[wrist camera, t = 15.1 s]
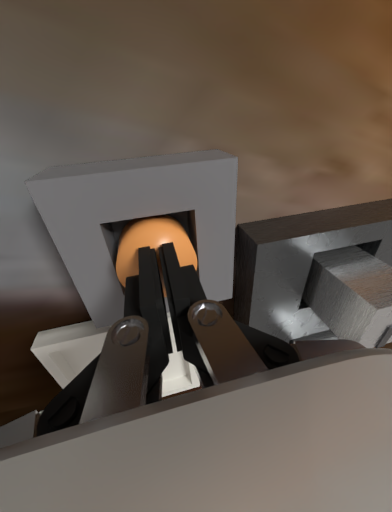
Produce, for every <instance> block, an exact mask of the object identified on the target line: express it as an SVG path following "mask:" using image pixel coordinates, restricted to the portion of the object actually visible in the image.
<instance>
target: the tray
mask: <svg viewBox="0 0 392 512" xmlns="http://www.w3.org/2000/svg"><path fill="white" fill-rule="evenodd" d="M167 317H168V324H169V330H170V336H171V342H172V348H173V353H171V354H168V355H169V362H168V363H169V364H168V365H167V367H166V368H165V369H164V371H163V372H162V377H163V381H162V397H164V396H167V395H171V394H174V393H178V392H181V391H185V390H188V389H192V388H195V387H199V386H200V383H199V379H198V377H197V374H196V372H195V369H194V365H193V364H191V363H189V362H187V361H186V360H184V358H183V353H182V351H179V352H177V348H176V343H175V338H174V332H173V327H172V322H171V317H170V312H168V313H167ZM111 326H112V325H110V326H106V327H101V328H97V329H96V327H95V325H94V323H93V321H92V320H91V321H86V322H82V323H77V324H73V325H68V326H63V327H59V328H54V329H50V330H45V331H41V332H38V333H37V336H36V338H35V340H34V342H33V345H32V347H31V349H30V350H31V351H32V352H33V353H34V355H35V356H36V357H37V358H38V359H39V361H40V362H41V363H42V364H43V365H44V367H45V368H46V369H47V370H48V372H49V373H50V374H51V375H52V376H53V378H54V379H55V380H56V381H57V382H58V384H59V385H60V386H61V387H62V389H64V388H65V387H66V386H67V385H68V384H69V383H70V382H71V381H72V380H73V379H74V378H75V377H76V376H77V375H78V374H79V373H80V372H81V371H82V370H83V369H84V368H85V367H86V366H87V365H88V364H89V363H90V362H91V361H92V360H94V359H95V358H96V357H97V356H98V355H99V354H100V353H101V351H102V347H103V344H104V341H105V338H106V334H107V332H108V330H109V328H110V327H111Z"/></svg>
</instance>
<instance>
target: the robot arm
mask: <svg viewBox="0 0 392 512" xmlns="http://www.w3.org/2000/svg"><path fill="white" fill-rule="evenodd" d="M158 250H159V255H160V261H161V267H162V272H163V278H164V284H165V289H166V295H167V301H168V306H169V311H170V317H171V322H172V327H173V332H174V338H175V343H176V348H177V352H179V351H182V353H183V358H184V360H186V361H187V362H189V363H191V364H193V365H194V369H195V372H196V374H197V377H198V379H199V381H200V384H201V386H202V389H200V390H197V391H193V392H190V393H186V394H183V395H179V396H176V397H172V398H169V399H165V400H162V381H163V377H162V372H163V371H164V369H165V368H166V367H167V365H168V364H169V363H168V362H169V355H168V354H171V353H173V348H172V342H171V336H170V330H169V324H168V317H167V311H166V305H165V299H164V293H163V288H162V283H161V278H160V273H159V268H158V263H157V258H156V252H155V248H152V249H150V246H146V247H141V248H138V259H139V275H135V276H129V277H126V283H125V300H124V317H123V318H122V319H120V320H118V321H117V322H115V323H114V324H113V325H112V326H111V327H110V328H109V330H108V332H107V334H106V338H105V341H104V344H103V347H102V351H101V353H100V354H99V355H98V356H97V357H96V358H95V359H94V360H92V361H91V362H90V363H89V364H88V365H87V366H86V367H85V368H84V369H83V370H82V371H81V372H80V373H79V374H78V375H77V376H76V377H75V378H74V379H73V380H72V381H71V382H70V383H69V384H68V385H67V386H66V387H65V388H64V389H63V390H62V391H61V392H60V393H59V394H58V395H57V396H56V397H54V398H53V399H52V401H51V402H50V403H49V404H48V405H47V406H46V407H45V409H44V410H43V411H41V412H37V411H36V410H35V411H33V412H31V413H29V414H27V415H24V416H22V417H20V418H18V419H16V420H14V421H12V422H10V423H8V424H6V425H4V426H2V427H0V512H392V349H383V348H382V349H381V348H366V347H364V346H363V345H361V344H360V343H358V342H355V341H352V340H346V339H337V340H303V341H294V343H293V344H288V343H287V342H285V341H283V340H282V339H279V338H277V337H274V336H272V335H270V334H267V333H265V332H262V331H260V330H257V329H255V328H252V327H250V326H248V325H245V324H243V323H240V322H238V321H235V320H233V319H232V317H231V316H230V314H229V313H228V311H227V310H226V309H225V307H224V306H223V305H222V304H221V303H219V302H217V301H214V300H207V298H206V295H205V293H204V290H203V287H202V285H201V282H200V280H199V277H198V275H197V272H196V270H195V267H194V265H193V264H192V265H187V266H182V267H180V264H179V261H178V257H177V254H176V251H175V247H174V244H173V242H170V243H164V244H162V247H158Z"/></svg>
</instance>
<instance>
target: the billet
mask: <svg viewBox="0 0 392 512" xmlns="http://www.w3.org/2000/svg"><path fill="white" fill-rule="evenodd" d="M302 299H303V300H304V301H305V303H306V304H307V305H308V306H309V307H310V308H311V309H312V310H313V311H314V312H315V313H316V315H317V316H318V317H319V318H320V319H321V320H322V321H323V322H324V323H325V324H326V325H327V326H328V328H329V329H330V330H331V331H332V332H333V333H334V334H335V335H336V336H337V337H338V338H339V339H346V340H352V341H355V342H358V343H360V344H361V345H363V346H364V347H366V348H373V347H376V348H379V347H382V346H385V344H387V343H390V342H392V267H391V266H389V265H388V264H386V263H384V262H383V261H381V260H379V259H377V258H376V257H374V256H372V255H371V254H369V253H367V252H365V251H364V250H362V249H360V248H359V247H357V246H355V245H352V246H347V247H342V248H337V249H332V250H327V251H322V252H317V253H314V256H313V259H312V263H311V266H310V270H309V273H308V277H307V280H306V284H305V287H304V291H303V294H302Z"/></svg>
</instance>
